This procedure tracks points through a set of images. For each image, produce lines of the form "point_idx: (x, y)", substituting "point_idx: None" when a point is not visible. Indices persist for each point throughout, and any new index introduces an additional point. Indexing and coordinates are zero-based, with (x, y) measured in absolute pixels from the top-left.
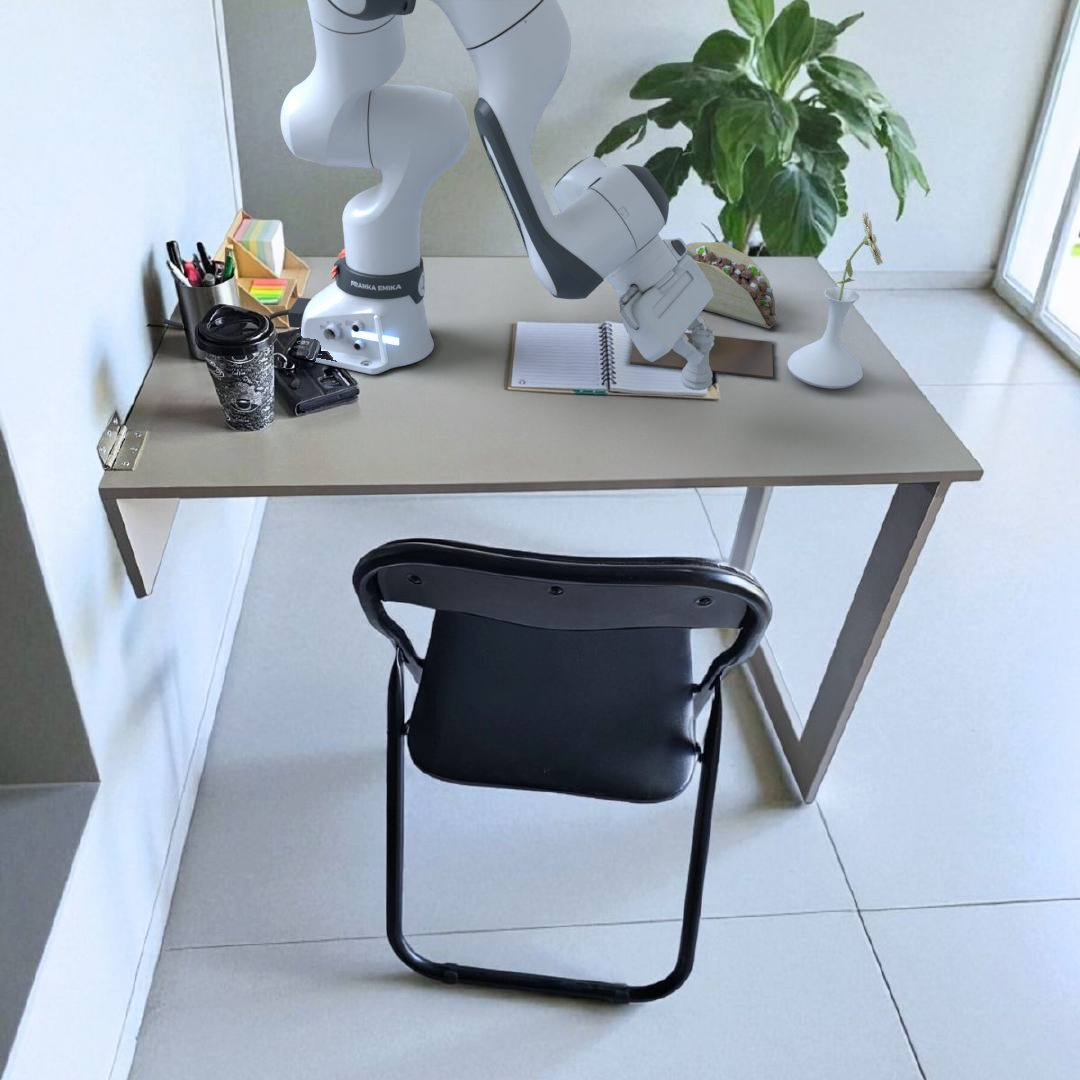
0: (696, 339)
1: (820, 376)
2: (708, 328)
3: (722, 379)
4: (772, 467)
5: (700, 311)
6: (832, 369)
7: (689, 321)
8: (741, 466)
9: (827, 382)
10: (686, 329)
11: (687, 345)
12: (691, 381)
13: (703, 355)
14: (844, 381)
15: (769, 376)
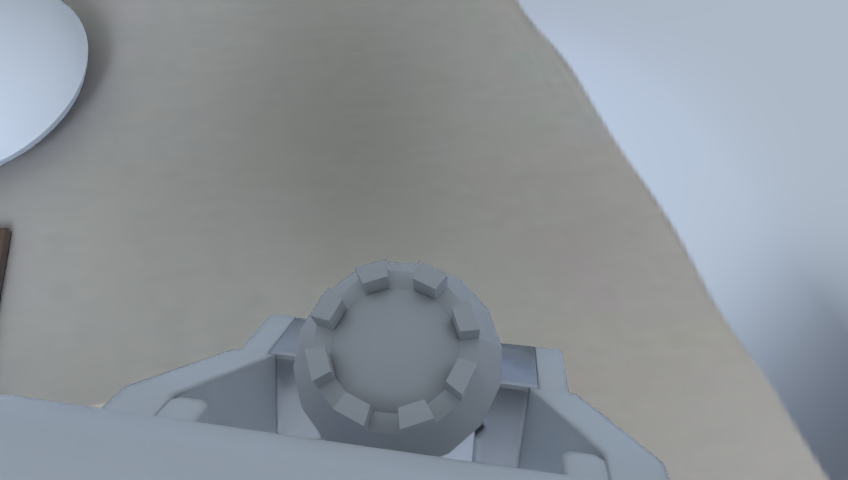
0: (487, 391)
1: (57, 63)
2: (334, 304)
3: None
4: (580, 158)
5: (101, 408)
6: (31, 23)
7: (443, 471)
8: (621, 240)
9: (78, 52)
10: (587, 478)
11: (637, 447)
12: None
13: (502, 344)
14: (68, 12)
15: (3, 239)
